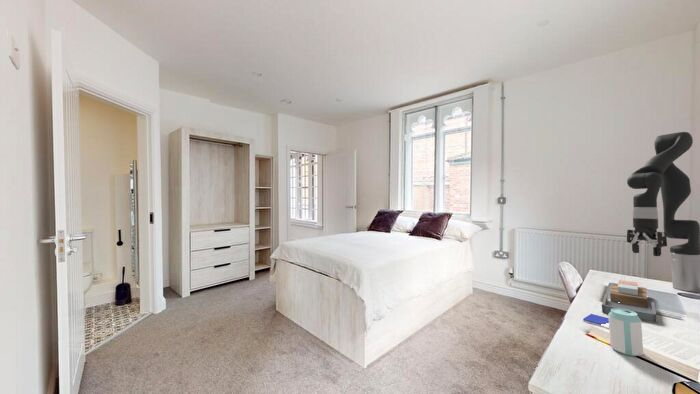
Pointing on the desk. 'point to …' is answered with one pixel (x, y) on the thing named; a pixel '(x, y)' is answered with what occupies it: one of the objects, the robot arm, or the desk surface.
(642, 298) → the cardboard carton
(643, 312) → the box
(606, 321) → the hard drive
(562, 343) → the desk surface
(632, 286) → the tile
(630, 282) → the tile
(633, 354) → the can
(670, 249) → the robot arm
